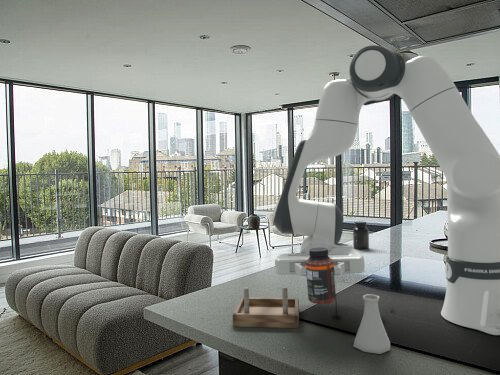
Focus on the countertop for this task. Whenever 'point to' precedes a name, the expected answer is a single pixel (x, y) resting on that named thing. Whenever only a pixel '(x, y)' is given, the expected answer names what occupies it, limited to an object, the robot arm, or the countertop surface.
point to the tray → (267, 311)
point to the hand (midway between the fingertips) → (320, 272)
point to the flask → (372, 328)
